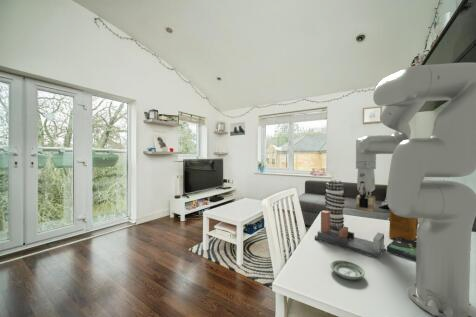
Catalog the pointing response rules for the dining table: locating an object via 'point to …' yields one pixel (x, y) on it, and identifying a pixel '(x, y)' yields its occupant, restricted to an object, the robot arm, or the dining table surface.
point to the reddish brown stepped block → (326, 226)
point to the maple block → (370, 204)
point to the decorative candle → (335, 203)
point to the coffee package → (402, 227)
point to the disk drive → (403, 248)
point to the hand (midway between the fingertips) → (365, 205)
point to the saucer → (347, 269)
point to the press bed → (355, 243)
